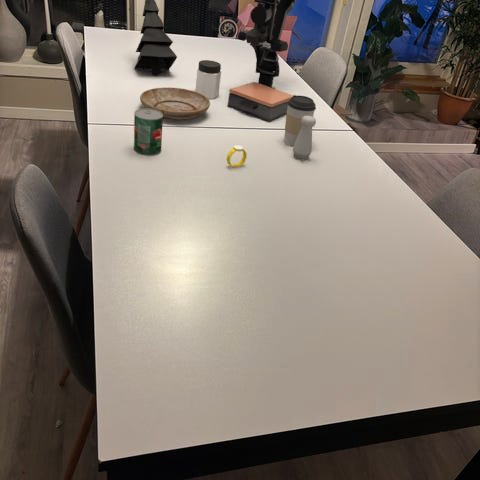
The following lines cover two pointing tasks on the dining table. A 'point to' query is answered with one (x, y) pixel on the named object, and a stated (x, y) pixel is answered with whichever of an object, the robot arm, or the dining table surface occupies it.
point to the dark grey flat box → (257, 108)
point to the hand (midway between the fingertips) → (259, 64)
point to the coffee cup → (297, 116)
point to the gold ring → (235, 148)
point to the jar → (208, 78)
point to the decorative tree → (154, 42)
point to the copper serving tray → (261, 94)
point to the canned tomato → (148, 132)
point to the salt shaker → (304, 138)
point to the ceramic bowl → (175, 102)
